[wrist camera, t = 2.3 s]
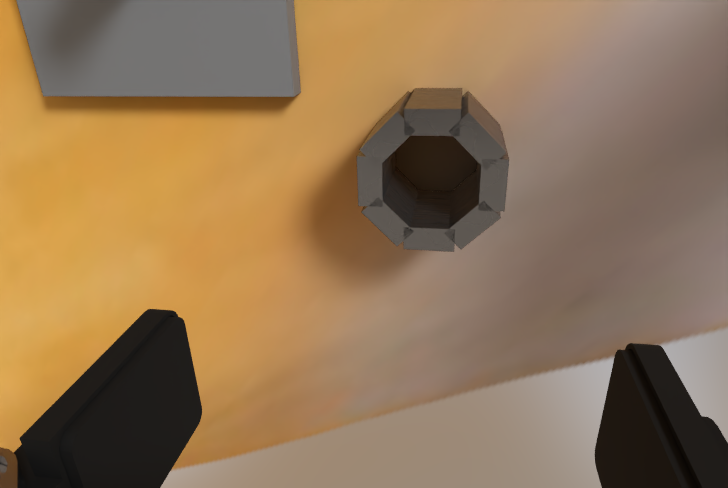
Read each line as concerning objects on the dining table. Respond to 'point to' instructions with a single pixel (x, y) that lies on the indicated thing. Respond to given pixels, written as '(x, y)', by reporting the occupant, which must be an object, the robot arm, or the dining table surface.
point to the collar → (433, 208)
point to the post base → (163, 47)
